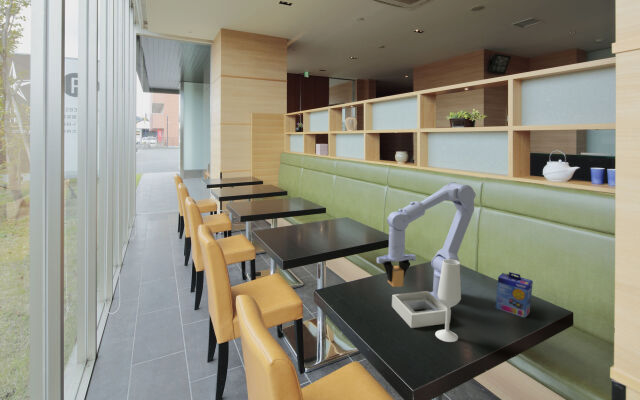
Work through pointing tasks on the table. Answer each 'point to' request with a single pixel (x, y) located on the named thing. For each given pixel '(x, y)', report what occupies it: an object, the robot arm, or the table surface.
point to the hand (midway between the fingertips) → (395, 280)
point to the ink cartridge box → (514, 294)
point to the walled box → (419, 318)
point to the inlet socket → (419, 305)
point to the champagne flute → (449, 295)
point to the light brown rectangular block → (397, 277)
